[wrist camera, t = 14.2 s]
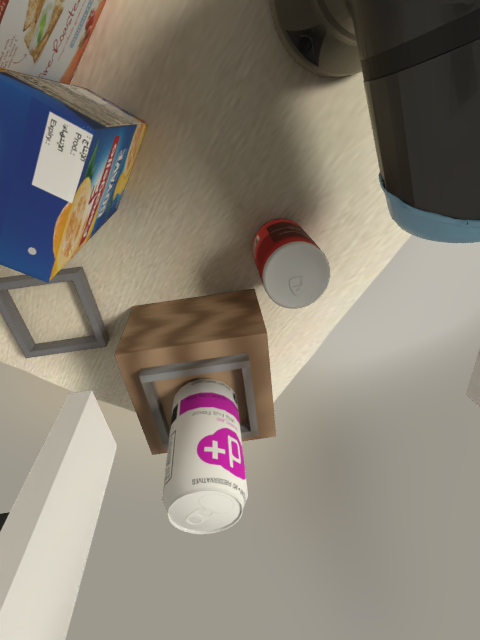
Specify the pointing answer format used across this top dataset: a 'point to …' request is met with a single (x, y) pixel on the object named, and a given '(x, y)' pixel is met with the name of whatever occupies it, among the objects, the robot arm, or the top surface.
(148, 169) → the top surface
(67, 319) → the top surface
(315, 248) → the canned food
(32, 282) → the base frame
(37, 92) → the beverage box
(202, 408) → the supplement can
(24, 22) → the cracker box
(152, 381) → the riser block
